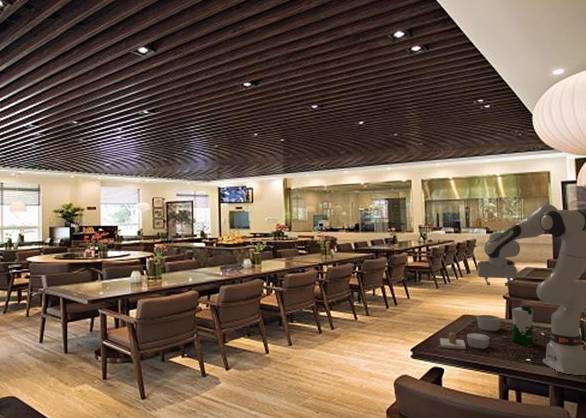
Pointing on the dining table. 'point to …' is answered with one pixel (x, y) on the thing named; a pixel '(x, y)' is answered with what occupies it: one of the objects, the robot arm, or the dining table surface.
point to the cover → (452, 341)
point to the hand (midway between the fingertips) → (497, 285)
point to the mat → (452, 347)
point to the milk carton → (522, 325)
